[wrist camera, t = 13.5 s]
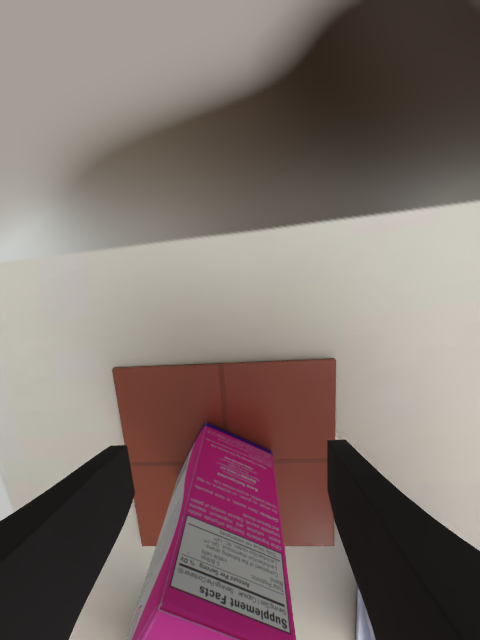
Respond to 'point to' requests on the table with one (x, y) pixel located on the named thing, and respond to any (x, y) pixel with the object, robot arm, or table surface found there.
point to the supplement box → (219, 550)
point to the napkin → (239, 419)
